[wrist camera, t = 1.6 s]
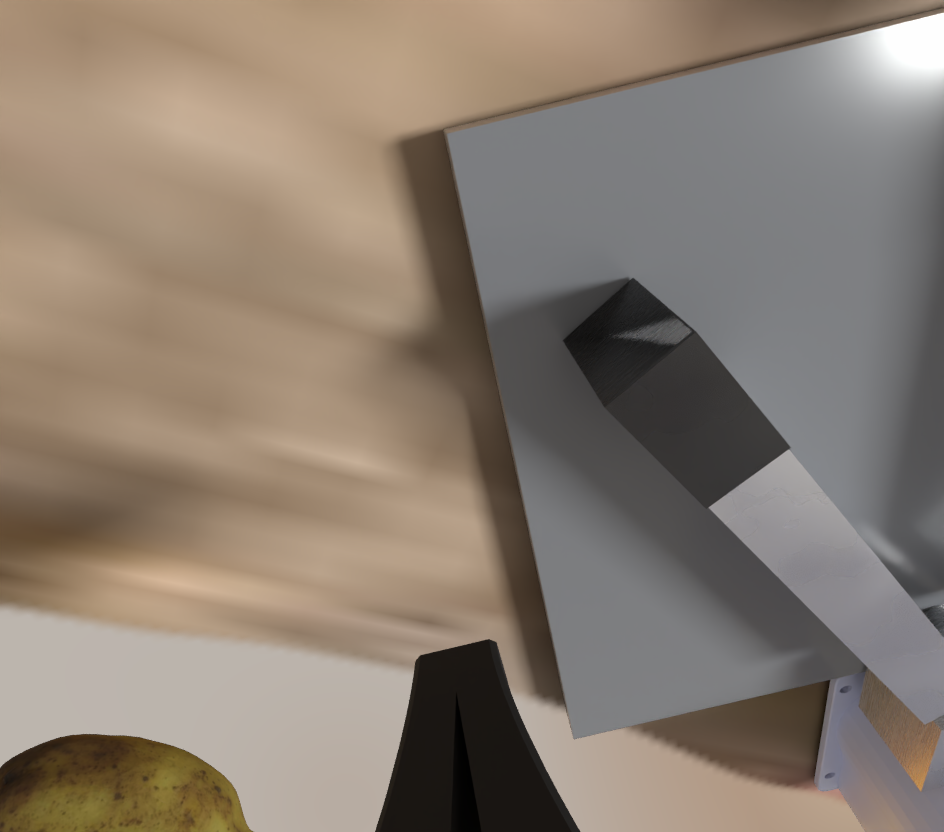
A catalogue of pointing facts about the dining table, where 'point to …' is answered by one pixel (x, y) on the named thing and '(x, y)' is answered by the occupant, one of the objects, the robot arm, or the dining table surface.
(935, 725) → the tongs fixed
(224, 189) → the dining table surface
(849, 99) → the slate board
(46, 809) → the potato
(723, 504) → the bar
